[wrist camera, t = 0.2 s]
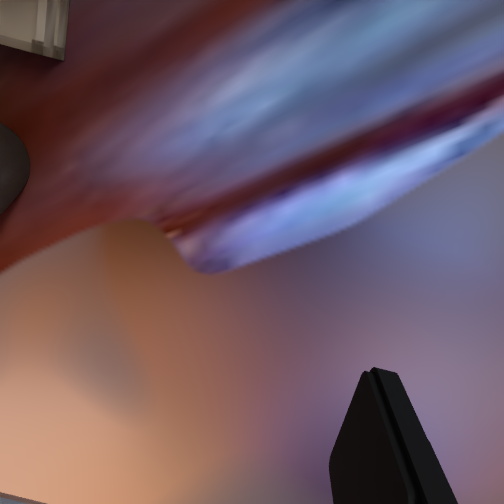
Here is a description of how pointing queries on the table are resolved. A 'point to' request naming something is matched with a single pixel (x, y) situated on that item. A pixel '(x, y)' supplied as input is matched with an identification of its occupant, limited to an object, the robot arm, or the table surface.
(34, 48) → the birch crate
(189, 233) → the table surface
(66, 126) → the table surface
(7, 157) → the plant pot
